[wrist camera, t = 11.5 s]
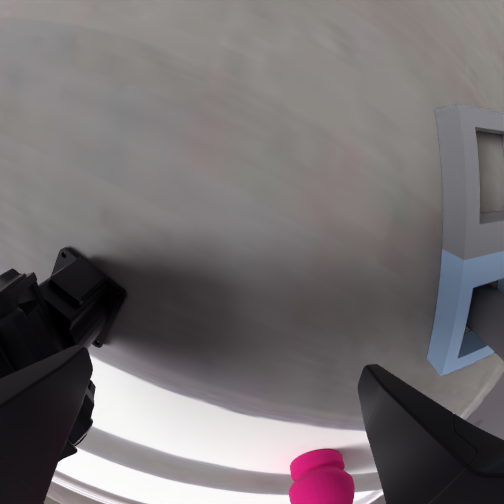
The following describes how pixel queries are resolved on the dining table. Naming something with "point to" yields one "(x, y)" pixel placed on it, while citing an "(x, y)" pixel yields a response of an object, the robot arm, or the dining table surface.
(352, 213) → the dining table surface
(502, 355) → the plug
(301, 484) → the pepper mill
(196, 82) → the dining table surface
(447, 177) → the two-hole peg board
